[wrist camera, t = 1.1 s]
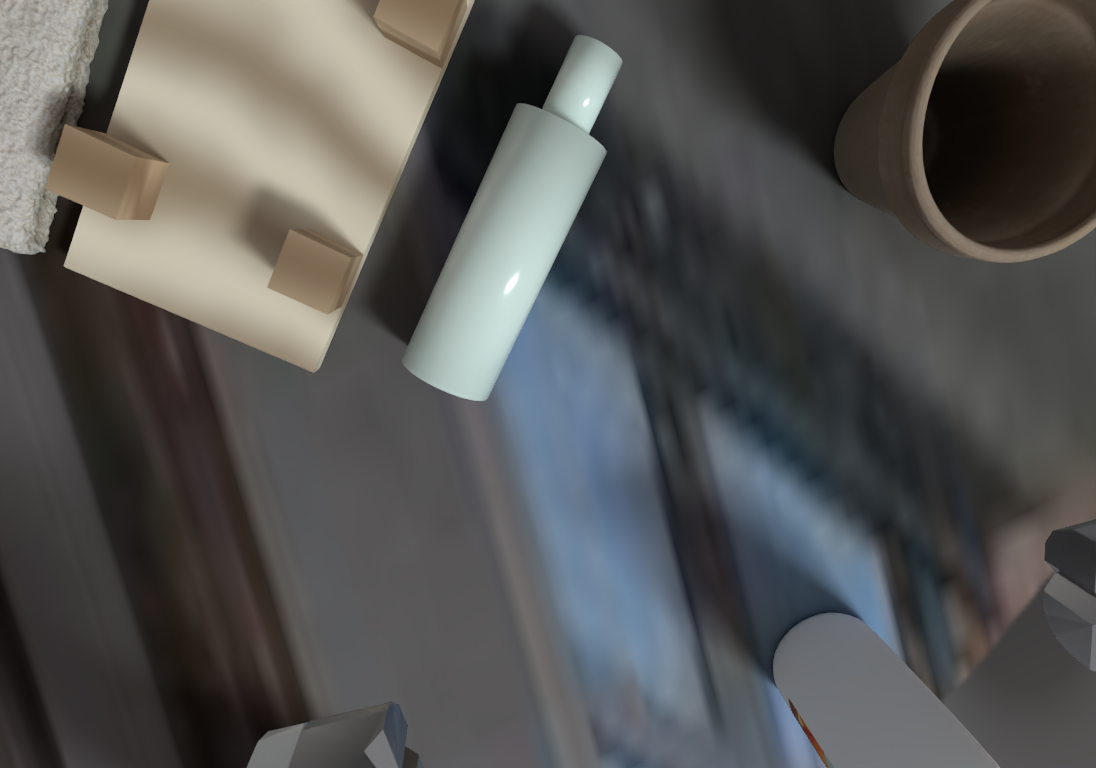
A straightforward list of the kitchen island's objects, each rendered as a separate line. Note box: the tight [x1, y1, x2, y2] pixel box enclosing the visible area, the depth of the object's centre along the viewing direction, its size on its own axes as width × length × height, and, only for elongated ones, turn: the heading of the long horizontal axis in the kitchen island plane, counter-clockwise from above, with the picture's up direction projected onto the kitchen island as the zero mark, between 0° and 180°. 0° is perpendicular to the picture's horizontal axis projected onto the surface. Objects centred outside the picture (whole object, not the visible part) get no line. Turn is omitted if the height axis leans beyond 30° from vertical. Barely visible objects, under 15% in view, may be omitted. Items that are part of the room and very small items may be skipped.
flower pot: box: [834, 0, 1096, 263], centre depth 30 cm, size 12×11×10 cm
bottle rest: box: [45, 0, 475, 373], centre depth 29 cm, size 24×13×4 cm, turn 154°
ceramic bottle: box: [402, 35, 622, 401], centre depth 31 cm, size 18×5×5 cm, turn 154°
